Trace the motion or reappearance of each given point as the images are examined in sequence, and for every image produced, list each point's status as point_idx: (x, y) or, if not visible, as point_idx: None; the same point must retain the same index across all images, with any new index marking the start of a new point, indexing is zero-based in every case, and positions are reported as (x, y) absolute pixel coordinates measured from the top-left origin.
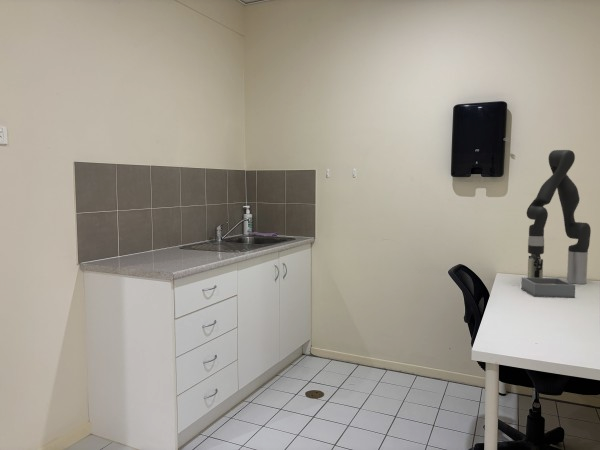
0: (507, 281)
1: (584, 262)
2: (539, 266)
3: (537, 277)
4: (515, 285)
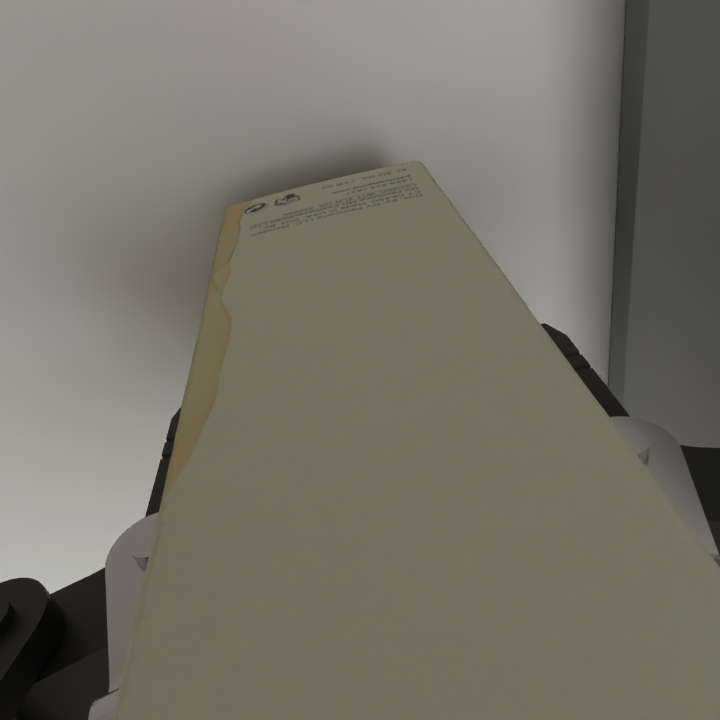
0: (73, 581)
1: None
2: None
3: None
4: None
